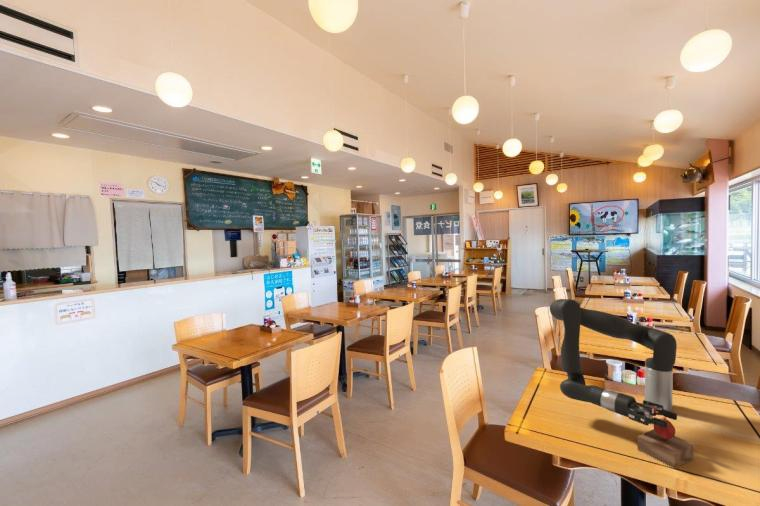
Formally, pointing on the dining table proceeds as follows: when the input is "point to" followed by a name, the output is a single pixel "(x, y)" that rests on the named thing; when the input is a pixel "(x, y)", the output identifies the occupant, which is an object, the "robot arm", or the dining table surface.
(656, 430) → the onion
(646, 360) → the robot arm
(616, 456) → the dining table surface
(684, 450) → the walnut block
